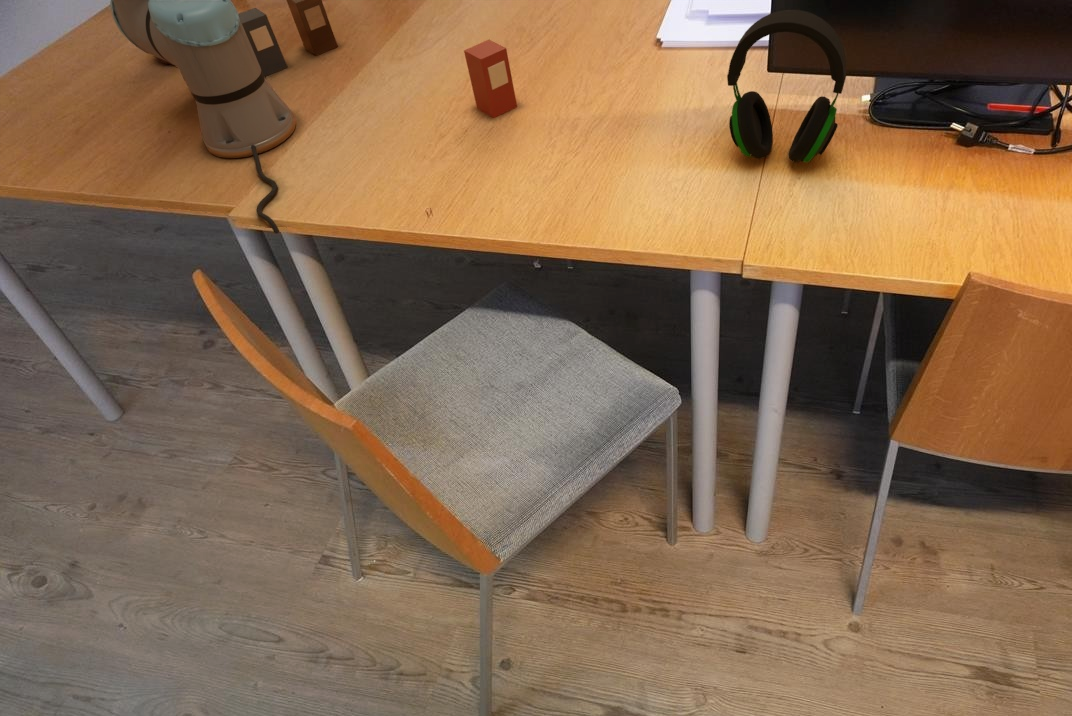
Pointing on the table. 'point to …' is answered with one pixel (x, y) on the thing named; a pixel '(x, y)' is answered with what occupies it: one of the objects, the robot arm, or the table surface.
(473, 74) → the red box
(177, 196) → the table surface
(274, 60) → the line block
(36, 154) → the table surface
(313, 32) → the line block
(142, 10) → the robot arm
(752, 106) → the headphones
